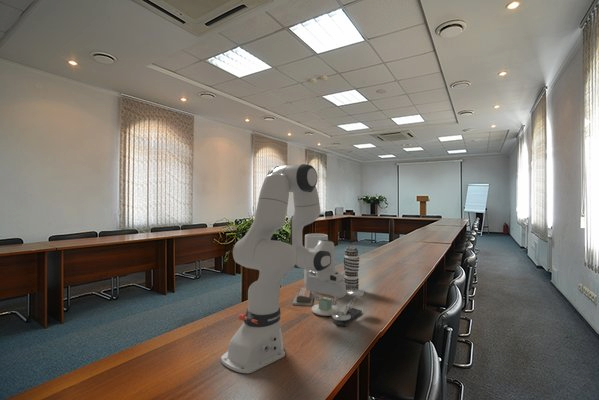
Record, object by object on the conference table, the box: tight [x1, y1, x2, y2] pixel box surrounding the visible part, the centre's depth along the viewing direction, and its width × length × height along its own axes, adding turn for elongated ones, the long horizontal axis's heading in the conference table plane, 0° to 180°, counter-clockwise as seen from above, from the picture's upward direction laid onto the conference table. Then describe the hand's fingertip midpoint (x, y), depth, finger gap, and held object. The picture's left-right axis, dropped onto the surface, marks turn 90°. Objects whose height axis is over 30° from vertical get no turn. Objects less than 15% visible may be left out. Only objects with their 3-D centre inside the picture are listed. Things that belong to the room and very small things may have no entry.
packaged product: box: [292, 286, 315, 307], centre depth 153 cm, size 18×5×10 cm
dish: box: [311, 303, 340, 317], centre depth 137 cm, size 13×13×2 cm
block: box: [318, 296, 333, 311], centre depth 136 cm, size 4×4×4 cm
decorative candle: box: [343, 246, 360, 291], centre depth 169 cm, size 9×9×25 cm
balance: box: [331, 288, 365, 327], centre depth 130 cm, size 22×8×10 cm, turn 145°
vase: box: [303, 233, 329, 287], centre depth 175 cm, size 14×14×32 cm
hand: (325, 302), depth 136 cm, fingers open, 8 cm apart
